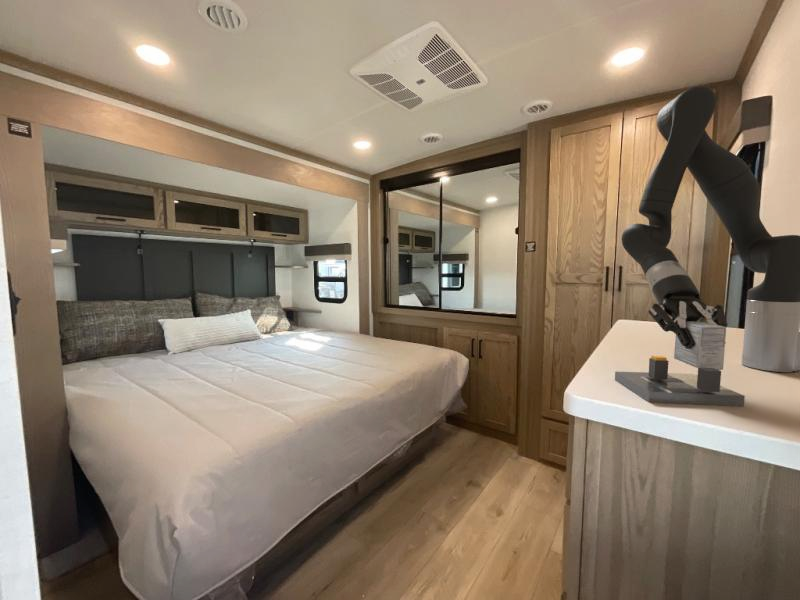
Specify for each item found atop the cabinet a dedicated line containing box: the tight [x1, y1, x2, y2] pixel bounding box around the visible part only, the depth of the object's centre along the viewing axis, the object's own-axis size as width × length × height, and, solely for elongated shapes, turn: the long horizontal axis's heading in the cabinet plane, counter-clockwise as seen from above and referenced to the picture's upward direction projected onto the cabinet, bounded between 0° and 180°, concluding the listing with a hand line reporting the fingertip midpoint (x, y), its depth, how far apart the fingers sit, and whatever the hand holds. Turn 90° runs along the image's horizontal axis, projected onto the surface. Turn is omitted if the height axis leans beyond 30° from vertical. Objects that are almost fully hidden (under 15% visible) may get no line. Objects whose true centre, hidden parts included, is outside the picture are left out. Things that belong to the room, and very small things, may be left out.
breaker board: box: [614, 370, 746, 407], centre depth 68 cm, size 16×13×2 cm
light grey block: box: [673, 320, 727, 371], centre depth 68 cm, size 8×4×9 cm, turn 169°
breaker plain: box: [697, 368, 722, 392], centre depth 63 cm, size 2×2×4 cm
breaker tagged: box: [648, 355, 669, 380], centre depth 70 cm, size 2×2×5 cm
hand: (705, 346), depth 67 cm, fingers closed on light grey block, 4 cm apart
